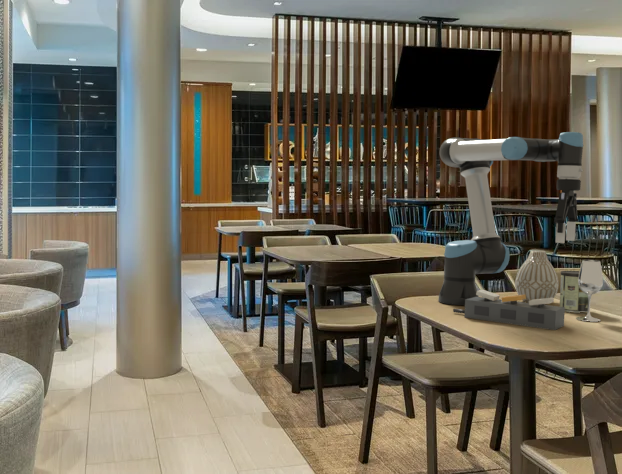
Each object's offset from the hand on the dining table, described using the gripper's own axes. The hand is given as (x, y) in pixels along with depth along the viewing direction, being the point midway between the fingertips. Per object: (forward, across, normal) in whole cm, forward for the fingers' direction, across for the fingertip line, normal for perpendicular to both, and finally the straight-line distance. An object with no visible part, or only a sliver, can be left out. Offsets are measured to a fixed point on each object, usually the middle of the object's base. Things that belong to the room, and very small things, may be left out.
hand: (565, 241), depth 229 cm
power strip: (+26, -19, +13) cm, 35 cm away
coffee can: (+26, +17, 0) cm, 31 cm away
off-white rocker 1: (+19, -18, +20) cm, 33 cm away
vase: (+26, +27, +16) cm, 41 cm away
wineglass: (+26, +1, -9) cm, 27 cm away
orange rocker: (+18, -19, +11) cm, 28 cm away
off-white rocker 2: (+18, -19, +2) cm, 27 cm away
